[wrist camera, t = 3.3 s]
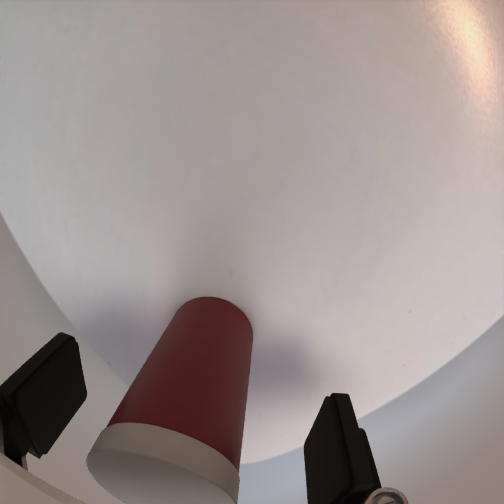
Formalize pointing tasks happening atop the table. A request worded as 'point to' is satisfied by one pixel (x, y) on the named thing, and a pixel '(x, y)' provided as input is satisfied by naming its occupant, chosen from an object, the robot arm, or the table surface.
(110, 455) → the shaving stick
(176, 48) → the table surface
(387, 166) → the table surface
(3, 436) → the robot arm
